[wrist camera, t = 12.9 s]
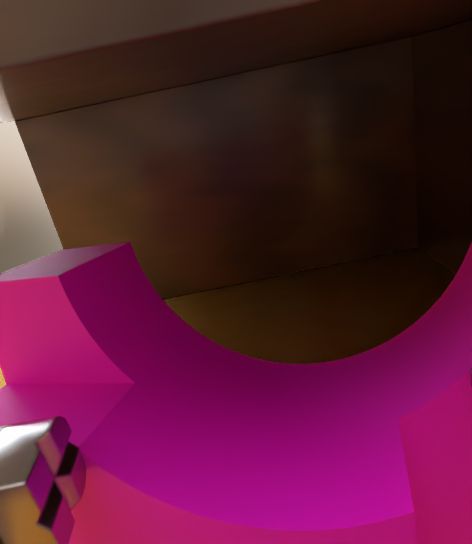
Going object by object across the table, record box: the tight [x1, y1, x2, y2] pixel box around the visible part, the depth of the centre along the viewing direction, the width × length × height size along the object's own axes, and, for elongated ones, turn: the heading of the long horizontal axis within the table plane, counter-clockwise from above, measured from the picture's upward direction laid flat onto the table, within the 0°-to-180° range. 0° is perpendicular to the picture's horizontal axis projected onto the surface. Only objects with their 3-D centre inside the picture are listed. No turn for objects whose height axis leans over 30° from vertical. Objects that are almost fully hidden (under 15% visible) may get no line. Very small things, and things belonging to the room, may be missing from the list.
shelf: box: [0, 0, 472, 299], centre depth 16 cm, size 23×20×14 cm
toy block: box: [0, 242, 472, 544], centre depth 11 cm, size 15×6×8 cm, turn 77°
